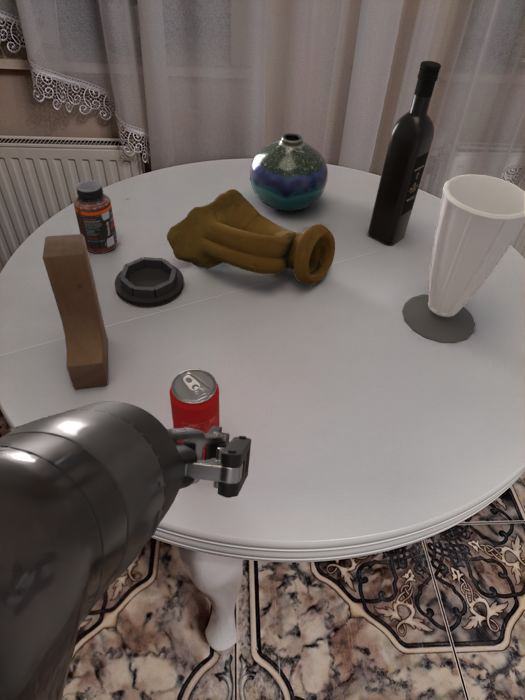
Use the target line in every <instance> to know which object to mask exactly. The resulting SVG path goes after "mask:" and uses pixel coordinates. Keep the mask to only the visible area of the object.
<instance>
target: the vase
mask: <svg viewBox="0 0 525 700" xmlns="http://www.w3.org/2000/svg"><path fill="white" fill-rule="evenodd" d="M328 174H329V170H328V165H327V162H326V160H325V158H324V156H323V155H322V154H321V152H319V151H318V149H316V148H315V147H313V145H310V144H309V143H307V142H305V141H304V139H303V136H302V135H300V134H298V133H294V132H288V133H284V134H282V135H281V137H280V139H277V140H274V141H272V142H270V143H268V144H266V145H264V146H263V147H261V148H260V149H259V150H257V152H256V153H255V154H254V156H253V158H252V160H251V163H250V167H249V180H250V185H251V188H252V190H253V192H254V194H255V195H256V196H257V198H258V199H259V201H261V202H262V203H263V204H265V205H266V206H268V207H270V208H272V209H275V210H278V211H284V212H295V211H300V210H304V209H306V208H308V207H310V206H312V205H313V204H315V203H316V202H317V201H318V200H319V199H320V197H321V196H322V194H323V193H324V191H325V188H326V186H327V182H328V179H329V178H328V176H329V175H328Z"/></svg>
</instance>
